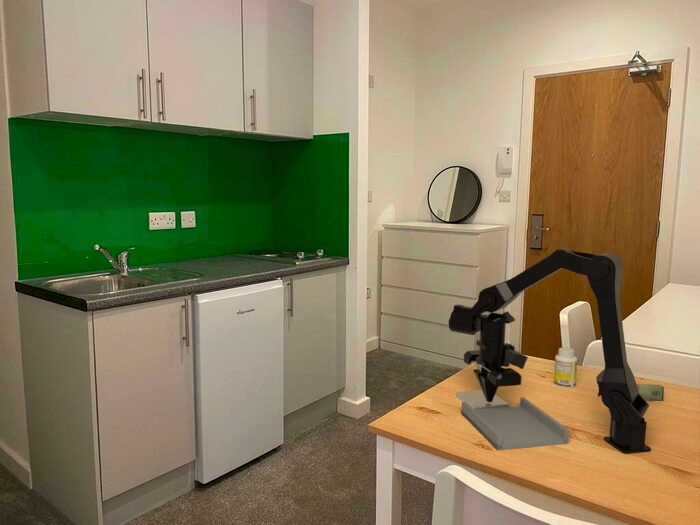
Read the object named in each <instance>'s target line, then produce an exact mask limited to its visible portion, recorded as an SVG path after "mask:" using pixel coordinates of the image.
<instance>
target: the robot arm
mask: <svg viewBox="0 0 700 525" xmlns="http://www.w3.org/2000/svg"><path fill="white" fill-rule="evenodd" d="M562 269H564V270H567V271H570V272H573V273H576V274H579V275H583V276H586V278H587V281H588V285H589V287H590V289H591V291H592V293H593V295H594V297H595V299H596V304H597V312H598V321H599V326H600V327H599V328H600V333H601V345H602V351H603V359H604V369H602V370H601V372H600V373H598V375H597V376H596V377H595V378H596V379H595V380H596V384H597V387H598V393H597V397H601V402H602V403H603V405H604V406H605V407H607V408H608V411H609V413H610V414H609V415H610V424H609V425H610V426H609V436H603V441H605V442H606V443H608V444H609V445H611V446H613V447H614V448H615V449H616V450H618V451H620V452H621V453H623V454H630V453H641V452H642V453H643V452H651V451H652V448H651V447H650V446H649V445H647V444H646V434H647V424H648V423H647V421H646V420H645V418H644V416H645V414H646V412H647V410H648V409H649V407H650V404H649V403H648V401H645V400H644V398H643V397H642V396H641V395H640V394H639V393H638V387H637V384H638V383H637V381H636V379H635V376H634V373H633V372H632V369H631V367H630V365H629V363H628V358H627V349H626V348H627V347H626V340H625V333H624V324H623V316H622V311H621V310H622V309H621V302H620V301H621V300H620V294H621V289H622V288H621V287H622V283H623V282H622V281H623V273H624V271H623V270H624V264H623V261H622V259H621V258H620V257H619V256H618V255H617V254H614V253H611V252H609V253H608V252H604V253H601V254H596V253H590V252H585V251H577V250H574V249H570V248H568V247H567V248H566V247H565V248H559V249H555V250H554V251H553V252H552V253H551V254H550V255H548V256H546V257H544V258H542V260H540V261H538V262H537V263H535V264H533V265H531V266H530V267H528V268H527V269H524V270H523V271H522V272H520V273H518V274H517V275H515V276H514V277H512V278H510V279H507V280H504V281H502V282H499V283H496V284H493V285H490V286H489V287H485V288H484V289H482V290H481V291H479V293H478V300H477V301H476V302H475V303H474V304H473V305H472V306H466V305H462V304H455V305H453V310H452V311H451V313H450V317H449V319H448V328H449V330H450V331H451V332H455V333H458V334H465V335H469V336H470V335H471V336H475V335H476V334H477V333H480V334H479V340H476V346H478V347H479V349H478V350H467V351H466V352H465V353H464V354H463V362H464V363H465V364H467V366H468V365H471V364H472V362H475V365H476V369H473V373H474V375H475V377H476V379H477V381H478V384H479V387H480V389H481V390H482V391H483V393H484V396H485V398H486V401H487V402H492V401H493V398H494V396H495V394H497V390H498V389H499V388H501V387H511V386H521V385H522V378H523V377H522V375H521V374H520V373H519V372H518V371H516V370H515V369H513V368H512V367H510V365H511V366H514V367H517V368H519V369H521V370H524V367H525V366H526V363H527V360H528V357H529V356H526V355H525V354H523V353H522V352H520V351H517V350H516V348H515V346H514V345H512V344H511V343H508V342H506V326H507V325H506V324H508V325H509V324H511V323H514V322H515V321H516V319H515V317H514V316H513V315H511V314H510V312H509V311H505V312H503V313H497V311H499V310H502V309H506V308H507V307H508V306H509V305H510V304H511V303H513V301H515V300H516V299H517V298H518V297H519V296H520V295H521V294H522V293H523V292H524V291H526V290H527V289H529V288H531V287H533V286H534V285H536V284H538V283H540V282H541V281H543V280H545V279H547V278H548V277H551V276H553V275H554V274H555V273H557V272H559V271H560V270H562ZM486 312H488V313H489V314H483V313H486ZM505 342H506V343H505Z"/></svg>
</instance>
